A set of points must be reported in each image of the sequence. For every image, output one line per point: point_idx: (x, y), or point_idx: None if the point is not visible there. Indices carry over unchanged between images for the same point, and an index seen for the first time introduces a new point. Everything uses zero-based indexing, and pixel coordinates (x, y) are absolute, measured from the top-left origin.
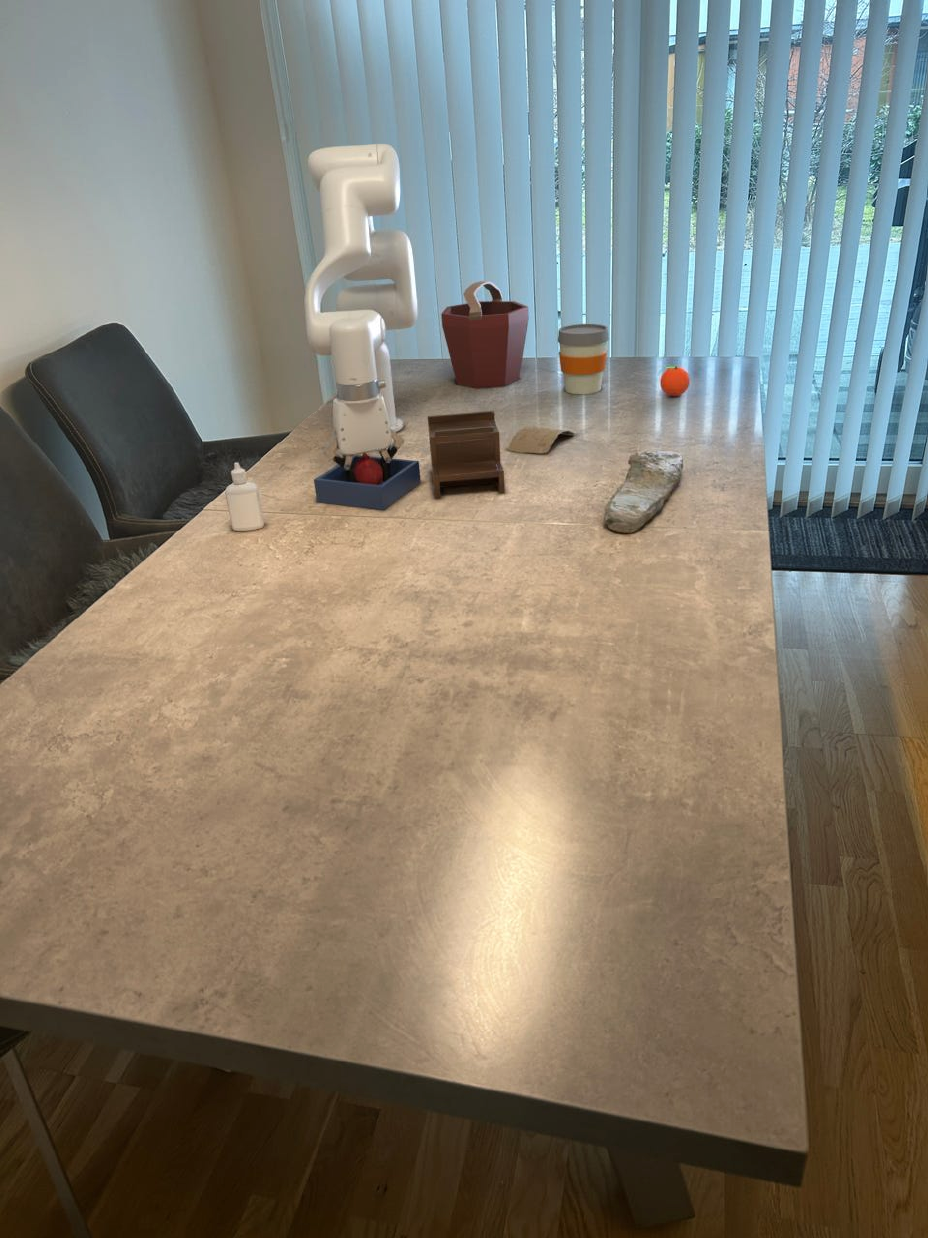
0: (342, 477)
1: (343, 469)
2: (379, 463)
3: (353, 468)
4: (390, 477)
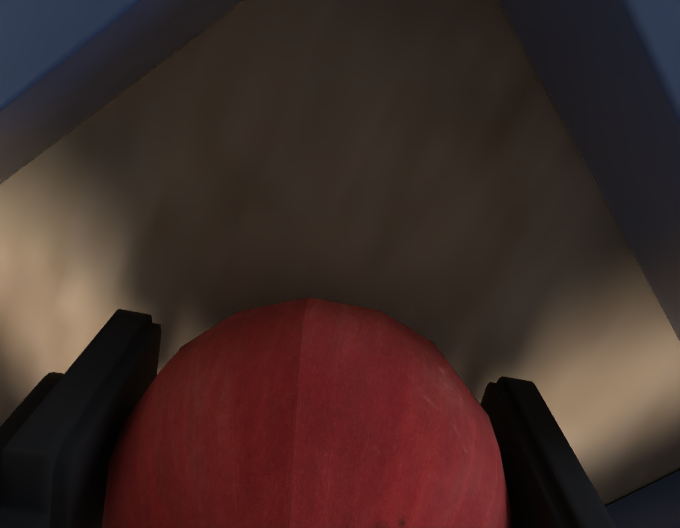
0: (114, 72)
1: (116, 49)
2: (675, 196)
3: (109, 523)
4: (647, 255)
